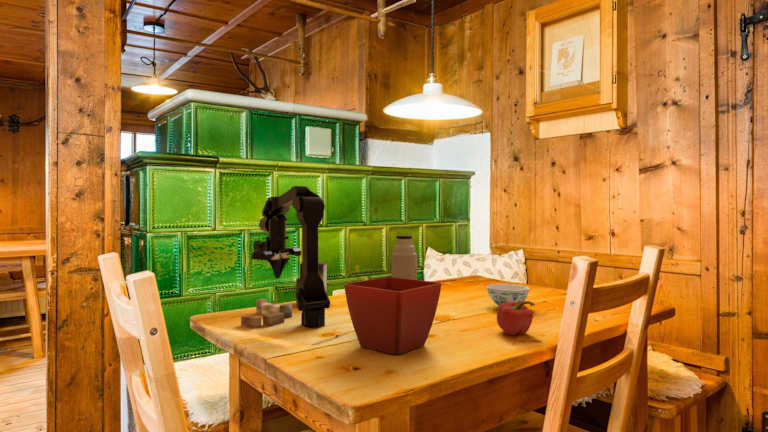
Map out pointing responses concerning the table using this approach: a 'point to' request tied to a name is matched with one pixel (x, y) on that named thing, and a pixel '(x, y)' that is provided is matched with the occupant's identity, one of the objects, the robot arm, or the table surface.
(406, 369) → the table surface
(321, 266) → the coffee box
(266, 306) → the leg
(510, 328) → the vegetable
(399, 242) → the thermos bottle
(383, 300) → the plant pot
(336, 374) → the table surface
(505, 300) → the chinaware
